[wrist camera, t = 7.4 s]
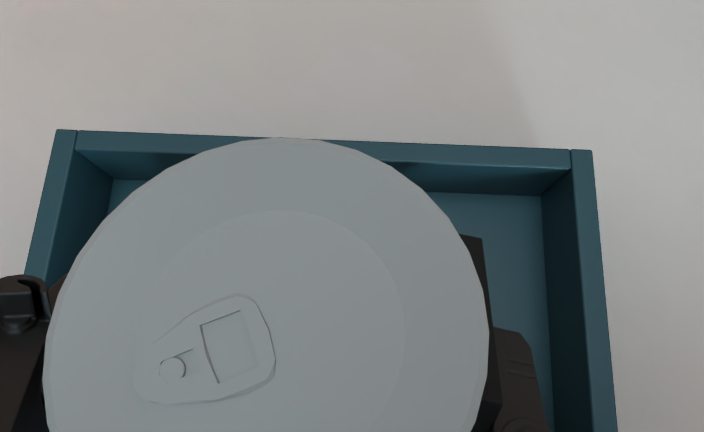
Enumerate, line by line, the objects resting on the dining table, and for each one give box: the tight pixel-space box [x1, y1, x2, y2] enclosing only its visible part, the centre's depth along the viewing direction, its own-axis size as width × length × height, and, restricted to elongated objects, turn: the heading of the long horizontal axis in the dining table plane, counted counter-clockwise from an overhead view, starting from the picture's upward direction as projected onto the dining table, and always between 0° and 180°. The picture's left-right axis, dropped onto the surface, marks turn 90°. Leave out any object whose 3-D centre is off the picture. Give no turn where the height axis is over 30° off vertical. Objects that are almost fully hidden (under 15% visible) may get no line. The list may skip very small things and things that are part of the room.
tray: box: [24, 129, 618, 432], centre depth 18 cm, size 20×15×4 cm
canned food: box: [42, 137, 489, 432], centre depth 14 cm, size 8×8×11 cm
